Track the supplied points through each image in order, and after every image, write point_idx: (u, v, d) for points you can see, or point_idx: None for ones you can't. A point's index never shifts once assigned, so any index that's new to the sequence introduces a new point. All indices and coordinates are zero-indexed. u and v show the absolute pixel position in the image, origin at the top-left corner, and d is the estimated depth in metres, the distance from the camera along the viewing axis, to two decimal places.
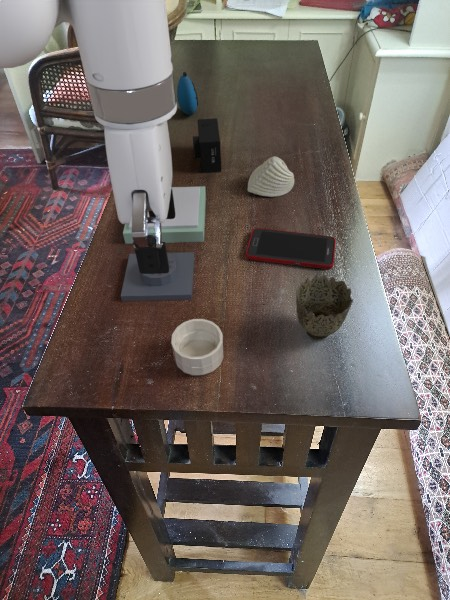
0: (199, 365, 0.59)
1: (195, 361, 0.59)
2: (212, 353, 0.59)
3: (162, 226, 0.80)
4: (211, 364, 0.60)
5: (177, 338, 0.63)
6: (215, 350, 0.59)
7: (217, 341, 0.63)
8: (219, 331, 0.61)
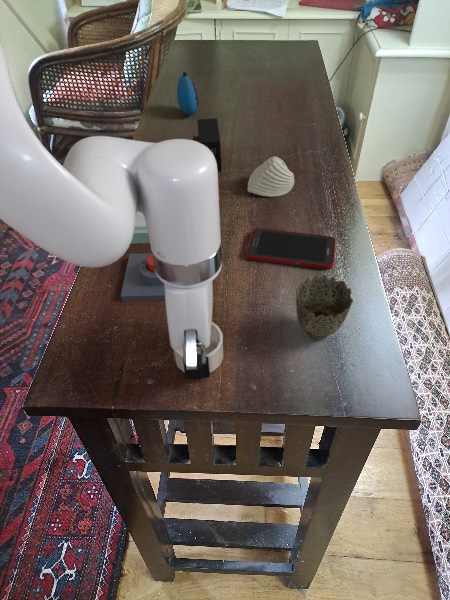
0: None
1: None
2: (212, 353, 0.59)
3: None
4: (211, 364, 0.60)
5: None
6: (215, 350, 0.59)
7: (217, 341, 0.63)
8: (219, 331, 0.61)
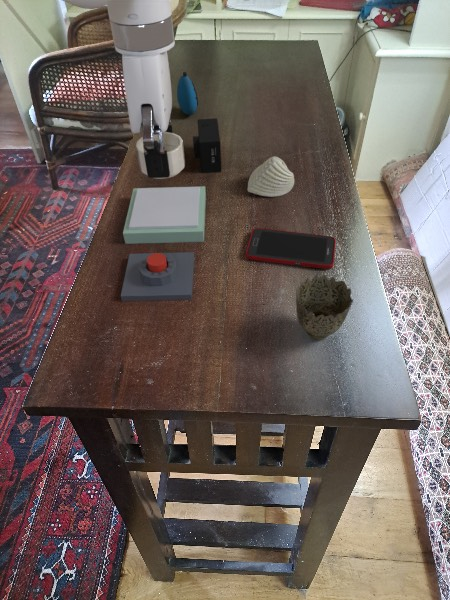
0: None
1: None
2: (172, 151, 0.65)
3: (162, 226, 0.80)
4: (172, 166, 0.67)
5: None
6: (174, 149, 0.66)
7: None
8: (180, 139, 0.68)
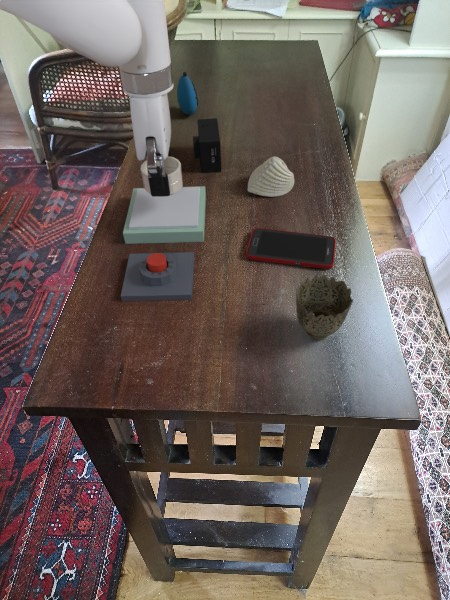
0: None
1: None
2: (171, 174, 0.76)
3: (162, 226, 0.80)
4: (172, 186, 0.77)
5: (146, 170, 0.80)
6: (174, 172, 0.76)
7: None
8: (178, 162, 0.78)
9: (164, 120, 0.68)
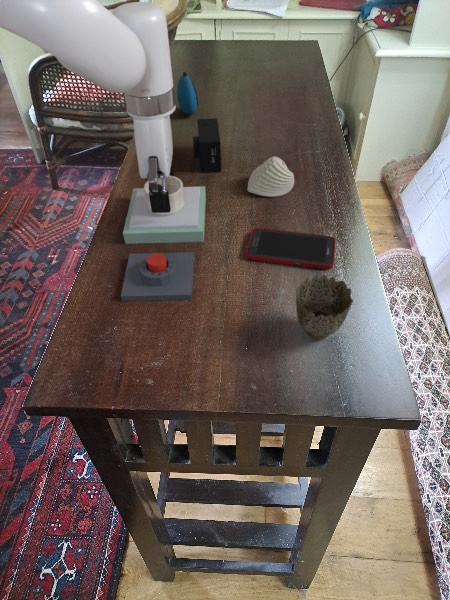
0: None
1: None
2: (174, 193, 0.79)
3: (162, 226, 0.80)
4: (174, 205, 0.80)
5: None
6: (176, 192, 0.79)
7: None
8: (180, 182, 0.81)
9: (166, 140, 0.71)
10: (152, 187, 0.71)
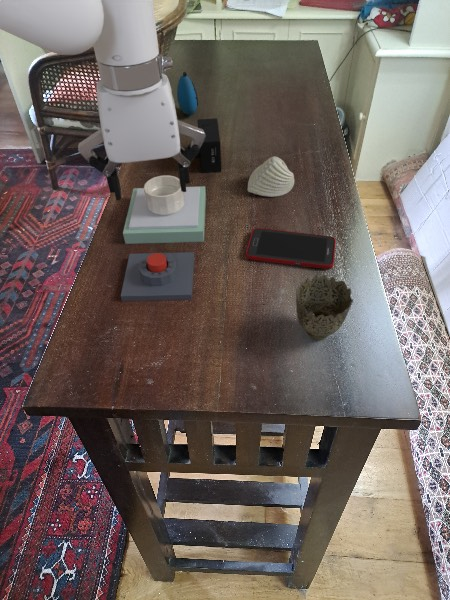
0: (164, 203, 0.79)
1: (161, 199, 0.79)
2: (174, 193, 0.79)
3: (162, 226, 0.80)
4: (174, 205, 0.80)
5: (149, 189, 0.82)
6: (176, 192, 0.79)
7: None
8: None
9: (111, 121, 0.58)
10: None
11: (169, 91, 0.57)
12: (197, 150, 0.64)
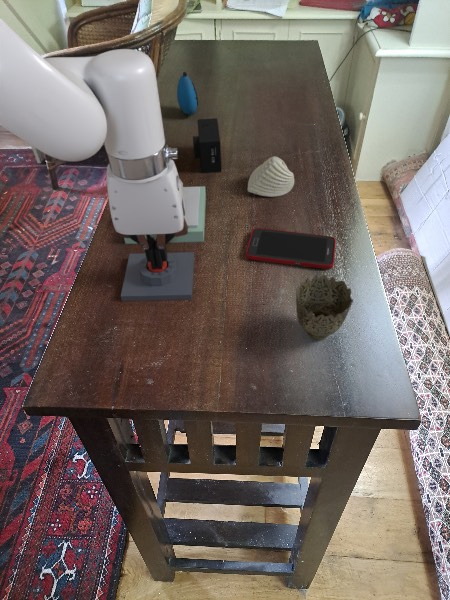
0: None
1: None
2: None
3: None
4: None
5: None
6: None
7: None
8: (180, 182, 0.81)
9: (117, 201, 0.61)
10: None
11: (173, 178, 0.60)
12: (171, 235, 0.67)
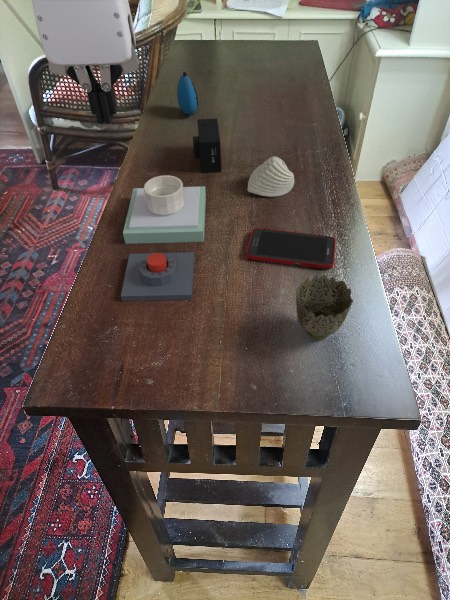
0: (164, 203, 0.79)
1: (161, 199, 0.79)
2: (174, 193, 0.79)
3: (162, 226, 0.80)
4: (174, 205, 0.80)
5: (149, 189, 0.82)
6: (176, 192, 0.79)
7: None
8: (180, 182, 0.81)
9: (43, 6, 0.48)
10: None
11: None
12: (118, 71, 0.54)
